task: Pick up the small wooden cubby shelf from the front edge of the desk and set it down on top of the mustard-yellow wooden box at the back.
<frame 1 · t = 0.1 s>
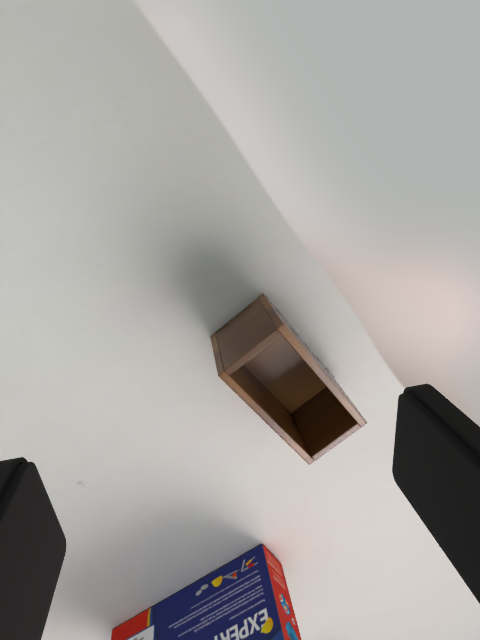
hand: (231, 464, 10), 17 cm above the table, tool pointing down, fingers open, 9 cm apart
toy box: (197, 594, 38), on the table
wooden cubby shelf: (276, 359, 29), on the table
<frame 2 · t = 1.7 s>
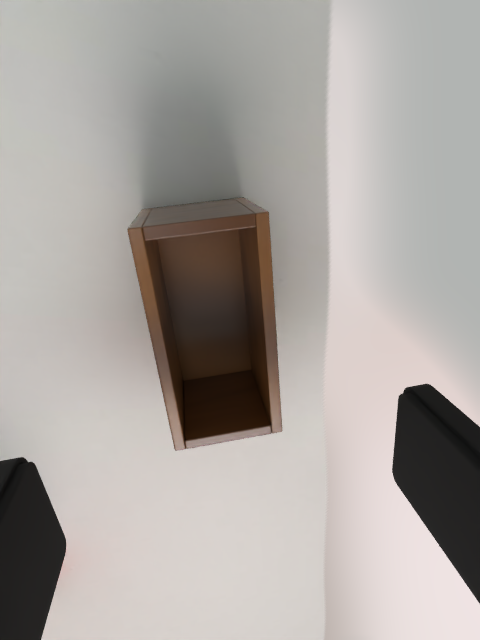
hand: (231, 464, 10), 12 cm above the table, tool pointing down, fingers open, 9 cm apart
wooden cubby shelf: (206, 298, 20), on the table
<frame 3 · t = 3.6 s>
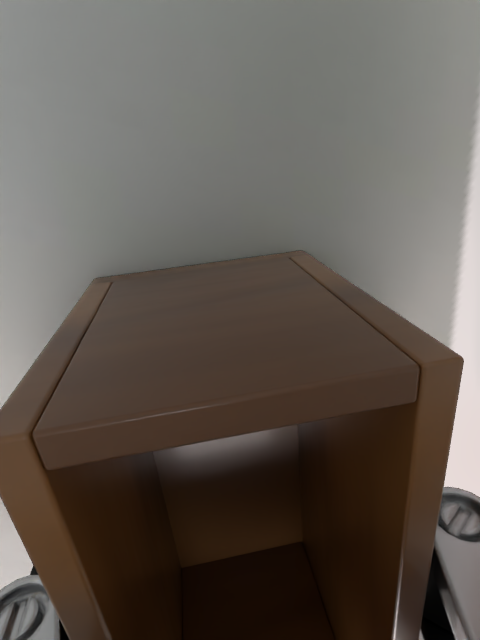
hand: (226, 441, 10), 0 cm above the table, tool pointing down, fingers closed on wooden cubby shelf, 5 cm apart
wooden cubby shelf: (225, 431, 11), on the table, touching gripper
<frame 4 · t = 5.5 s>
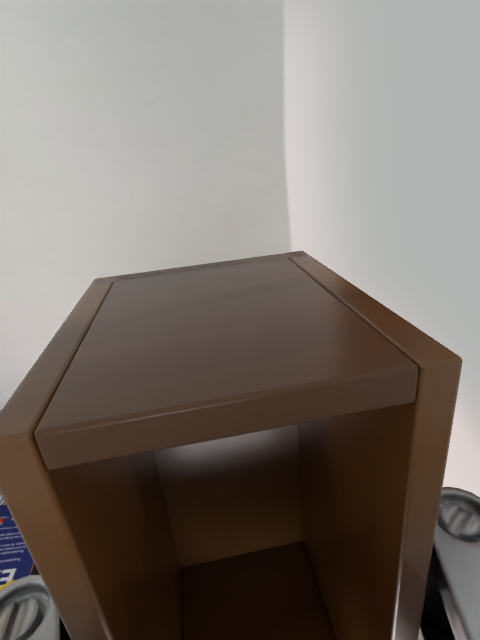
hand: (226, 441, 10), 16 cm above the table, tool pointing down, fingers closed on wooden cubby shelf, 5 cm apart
wooden cubby shelf: (225, 431, 11), point 16 cm above the table, touching gripper
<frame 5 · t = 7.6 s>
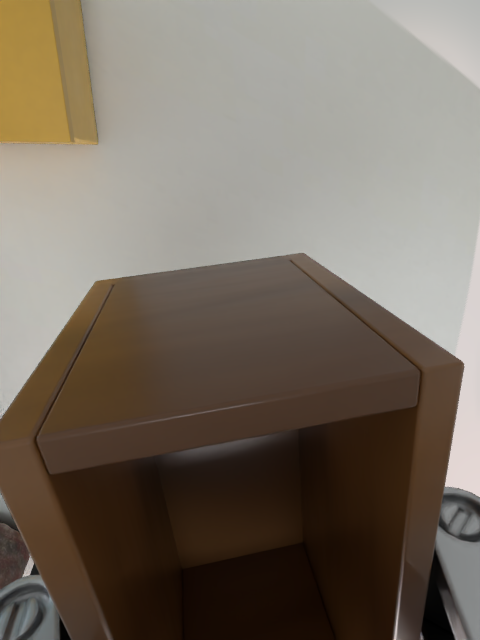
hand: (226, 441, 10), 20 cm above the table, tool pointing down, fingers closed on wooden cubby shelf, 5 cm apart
wooden cubby shelf: (225, 432, 11), point 19 cm above the table, touching gripper
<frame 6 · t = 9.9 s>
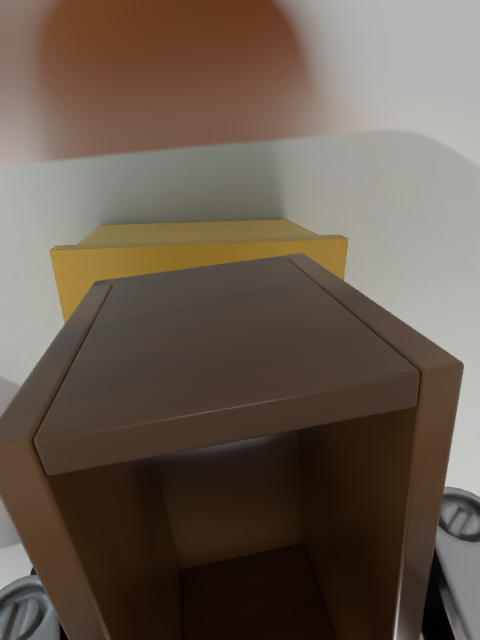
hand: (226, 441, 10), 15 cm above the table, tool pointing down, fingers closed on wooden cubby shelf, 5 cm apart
box: (200, 285, 24), on the table
wooden cubby shelf: (225, 433, 11), point 14 cm above the table, touching gripper
when the fingers open (9 cm above the table, at t = 11.7 s): wooden cubby shelf stays where it is, resting on box.
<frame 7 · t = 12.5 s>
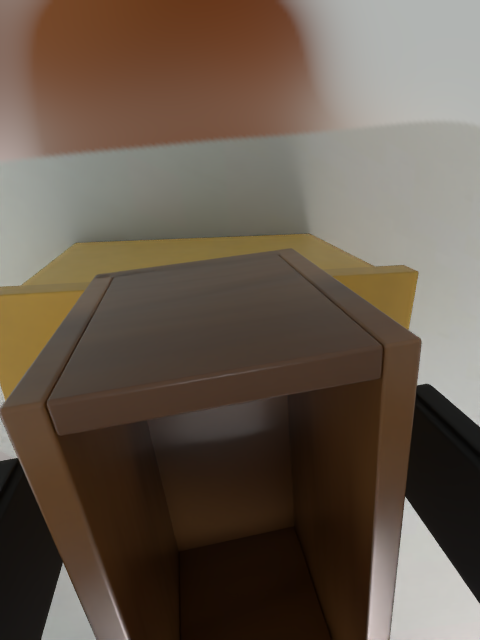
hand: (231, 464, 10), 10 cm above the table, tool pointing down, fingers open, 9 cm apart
box: (202, 316, 19), on the table
wooden cubby shelf: (220, 420, 11), point 8 cm above the table, touching box
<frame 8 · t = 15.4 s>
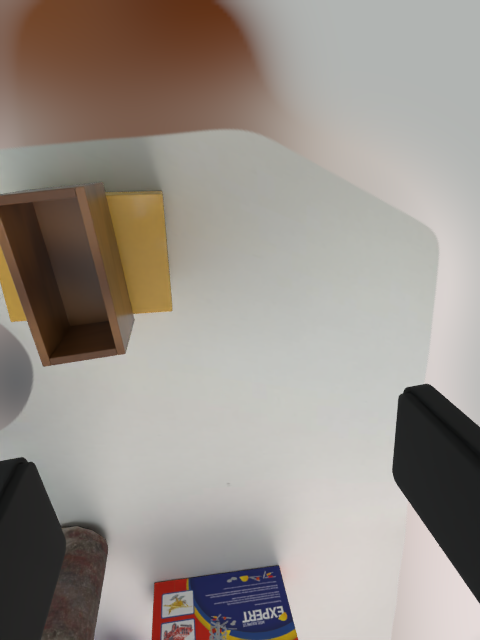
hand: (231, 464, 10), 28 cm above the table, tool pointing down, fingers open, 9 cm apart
toy box: (218, 581, 55), on the table
box: (104, 238, 34), on the table
candle: (80, 539, 47), on the table
wooden cubby shelf: (83, 260, 26), point 8 cm above the table, touching box
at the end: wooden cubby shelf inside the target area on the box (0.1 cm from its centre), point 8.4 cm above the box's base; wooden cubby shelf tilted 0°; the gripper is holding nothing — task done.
